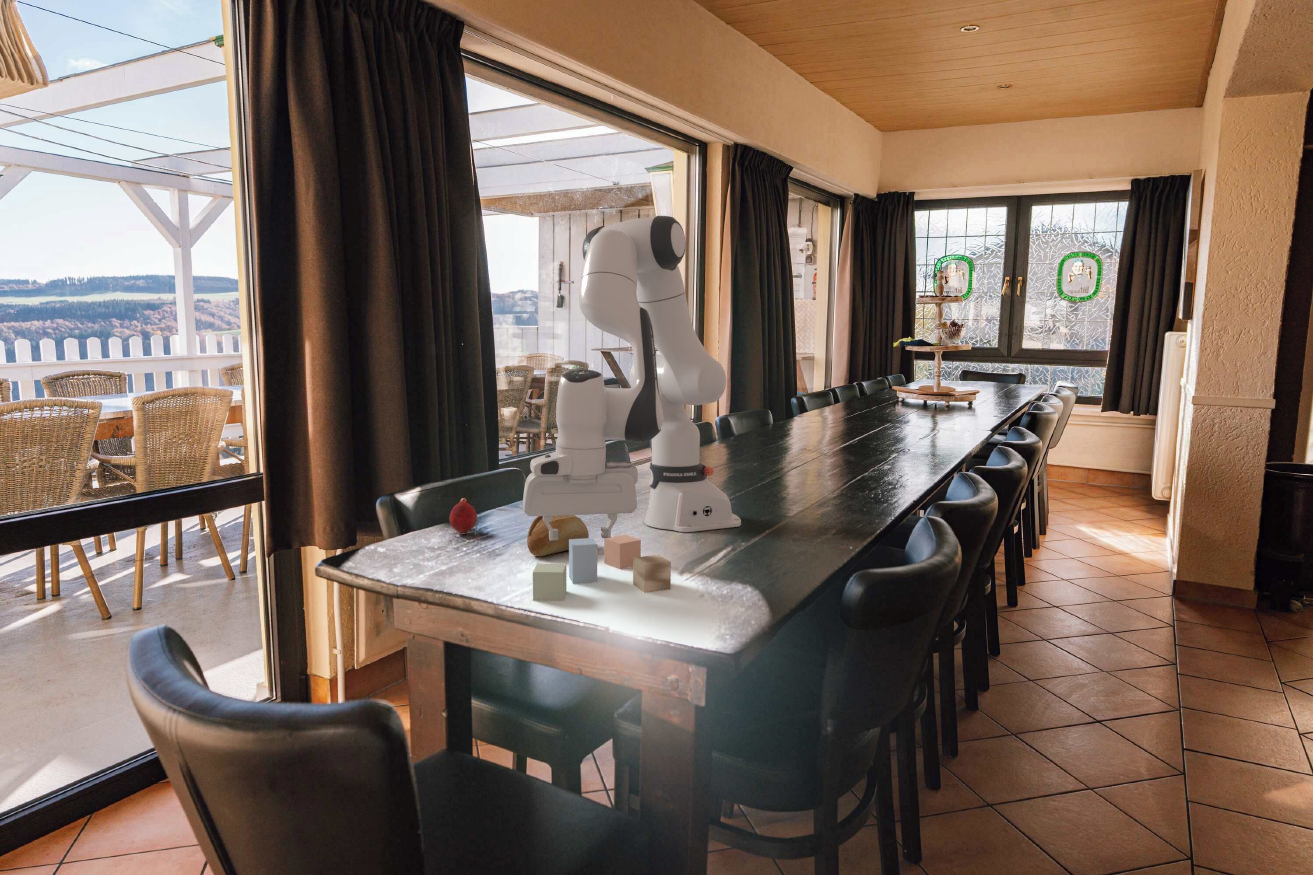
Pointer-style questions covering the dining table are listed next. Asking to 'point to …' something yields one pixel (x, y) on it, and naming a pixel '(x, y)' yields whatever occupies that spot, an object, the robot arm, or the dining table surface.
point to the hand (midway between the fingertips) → (579, 538)
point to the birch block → (651, 573)
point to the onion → (463, 517)
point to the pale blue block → (583, 560)
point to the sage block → (549, 582)
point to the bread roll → (566, 530)
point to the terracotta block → (621, 551)
